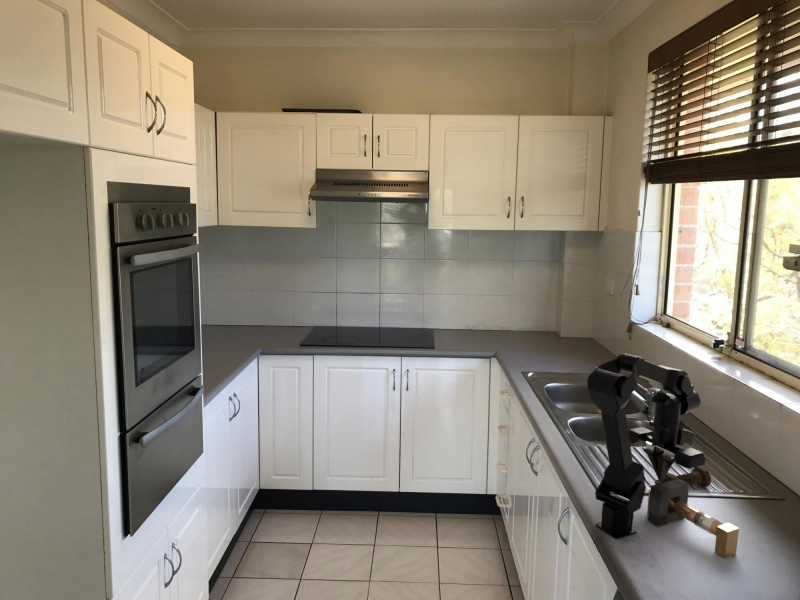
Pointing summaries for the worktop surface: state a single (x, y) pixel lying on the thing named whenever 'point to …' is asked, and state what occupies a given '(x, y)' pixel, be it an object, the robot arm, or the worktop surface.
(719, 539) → the square head rod
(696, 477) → the bolt
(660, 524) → the dark grey square ring
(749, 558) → the worktop surface
